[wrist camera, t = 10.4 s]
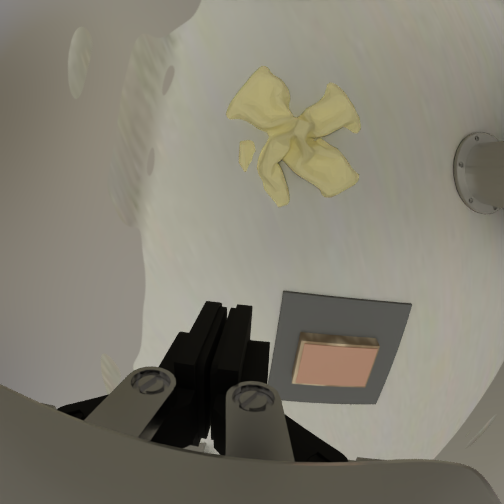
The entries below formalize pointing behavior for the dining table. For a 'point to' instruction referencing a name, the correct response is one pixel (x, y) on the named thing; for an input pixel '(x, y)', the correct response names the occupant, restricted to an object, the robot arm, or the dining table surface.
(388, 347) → the mat
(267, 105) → the cloth
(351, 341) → the tile
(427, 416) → the dining table surface
